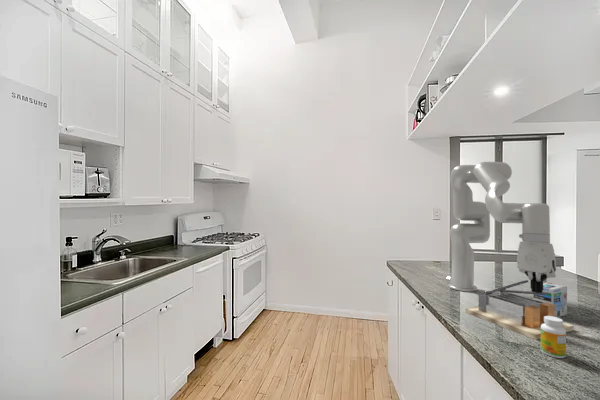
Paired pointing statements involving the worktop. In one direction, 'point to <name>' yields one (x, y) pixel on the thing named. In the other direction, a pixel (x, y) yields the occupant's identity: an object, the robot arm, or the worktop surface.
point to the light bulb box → (554, 297)
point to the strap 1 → (505, 287)
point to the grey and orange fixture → (516, 308)
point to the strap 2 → (523, 292)
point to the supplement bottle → (553, 337)
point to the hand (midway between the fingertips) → (536, 291)
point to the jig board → (513, 324)
